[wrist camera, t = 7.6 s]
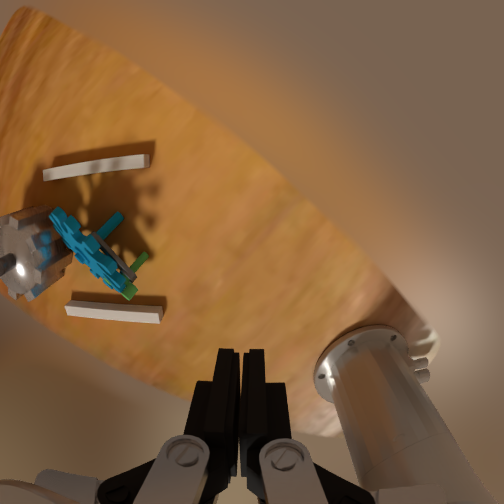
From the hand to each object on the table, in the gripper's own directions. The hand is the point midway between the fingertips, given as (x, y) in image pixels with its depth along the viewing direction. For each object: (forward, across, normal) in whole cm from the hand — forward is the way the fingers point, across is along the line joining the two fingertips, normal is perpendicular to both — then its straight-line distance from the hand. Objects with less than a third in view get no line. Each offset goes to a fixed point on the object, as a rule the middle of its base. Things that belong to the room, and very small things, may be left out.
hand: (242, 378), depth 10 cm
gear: (+17, +14, -1) cm, 22 cm away
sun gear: (+16, +24, -1) cm, 29 cm away
